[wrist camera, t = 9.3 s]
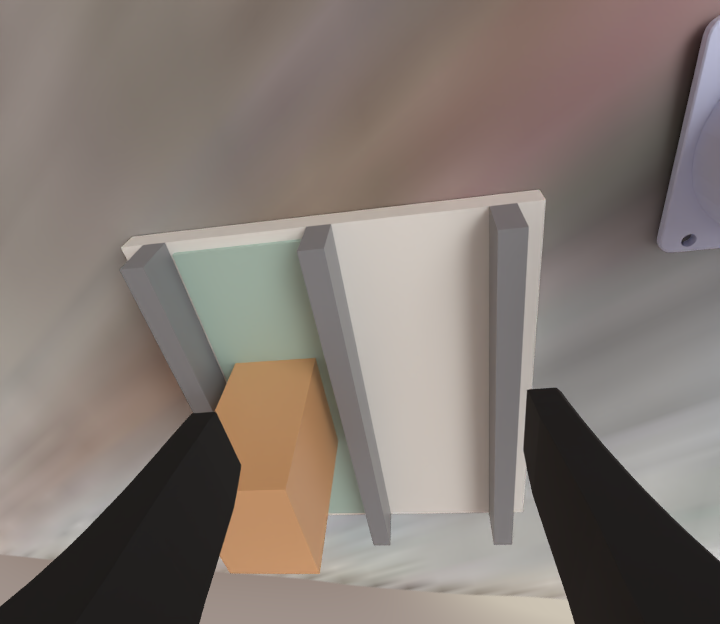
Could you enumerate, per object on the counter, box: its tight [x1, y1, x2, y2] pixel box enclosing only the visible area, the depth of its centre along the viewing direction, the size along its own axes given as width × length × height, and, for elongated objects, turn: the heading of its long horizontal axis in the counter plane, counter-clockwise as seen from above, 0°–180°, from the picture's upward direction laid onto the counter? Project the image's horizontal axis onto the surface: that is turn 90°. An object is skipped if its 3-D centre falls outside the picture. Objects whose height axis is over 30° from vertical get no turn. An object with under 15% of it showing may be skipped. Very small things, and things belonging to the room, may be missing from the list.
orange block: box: [215, 358, 338, 574], centre depth 21 cm, size 4×6×7 cm, turn 9°
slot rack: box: [120, 190, 546, 545], centre depth 24 cm, size 17×20×3 cm
